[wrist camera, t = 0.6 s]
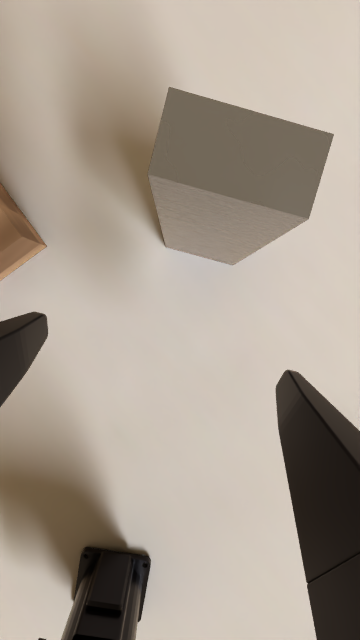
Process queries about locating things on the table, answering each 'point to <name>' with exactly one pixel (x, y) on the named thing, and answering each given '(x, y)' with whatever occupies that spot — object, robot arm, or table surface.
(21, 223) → the slot rack
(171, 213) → the gray rectangular block
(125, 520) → the table surface
